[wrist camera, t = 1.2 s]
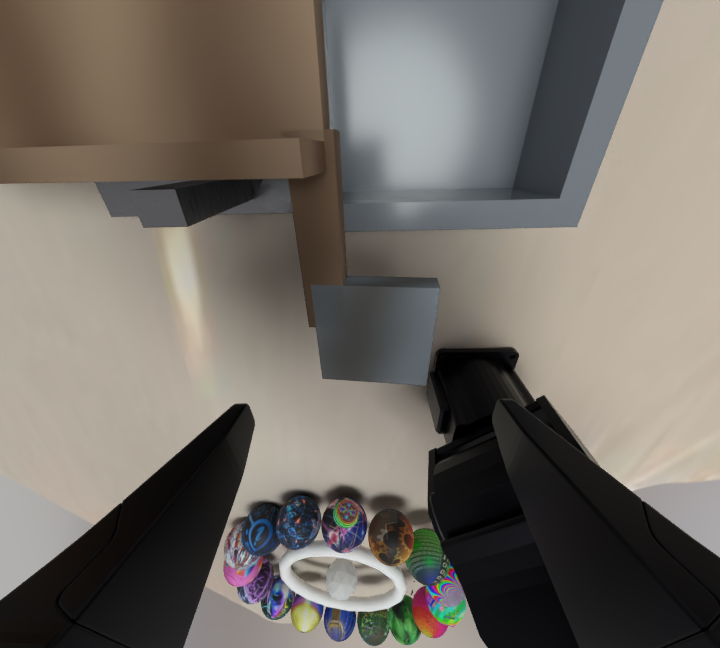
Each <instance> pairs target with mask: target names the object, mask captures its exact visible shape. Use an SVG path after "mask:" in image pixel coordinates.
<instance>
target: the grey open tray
mask: <svg viewBox="0 0 720 648" xmlns="http://www.w3.org/2000/svg"><path fill="white" fill-rule="evenodd" d="M662 3H663V0H322V13H323V28H324V43H325V58H326V73H327V88H328V103H329V118H330V129H335V130H338V131H339V132H340V152H341V171H342V190H343V209H344V229H345V232H357V231H406V230H454V229H502V228H551V227H577V225H578V223H579V220H580V218H581V215H582V212H583V210H584V207H585V205H586V202H587V199H588V197H589V194H590V191H591V189H592V186H593V184H594V181H595V178H596V176H597V173H598V170H599V168H600V165H601V163H602V160H603V157H604V155H605V152H606V150H607V147H608V144H609V142H610V139H611V136H612V134H613V131H614V129H615V126H616V123H617V121H618V118H619V115H620V113H621V110H622V108H623V105H624V102H625V100H626V97H627V95H628V92H629V89H630V87H631V84H632V81H633V79H634V76H635V74H636V71H637V68H638V66H639V63H640V61H641V58H642V55H643V53H644V50H645V47H646V45H647V42H648V40H649V37H650V34H651V32H652V29H653V26H654V24H655V21H656V19H657V16H658V13H659V11H660V8H661V6H662Z"/></svg>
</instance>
